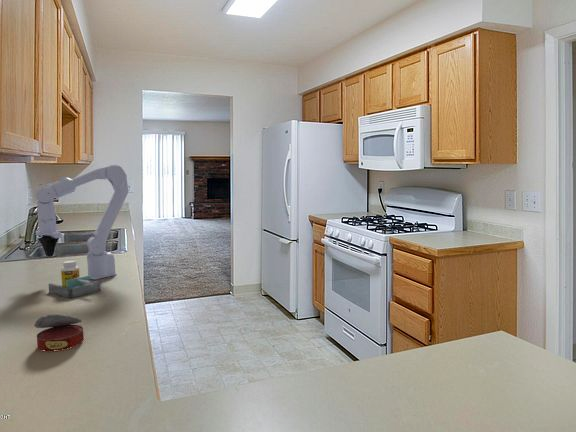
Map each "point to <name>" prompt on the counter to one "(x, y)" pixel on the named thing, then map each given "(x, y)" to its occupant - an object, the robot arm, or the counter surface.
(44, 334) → the canned food
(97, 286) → the grey piece
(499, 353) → the counter surface
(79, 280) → the pusher
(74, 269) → the supplement bottle
